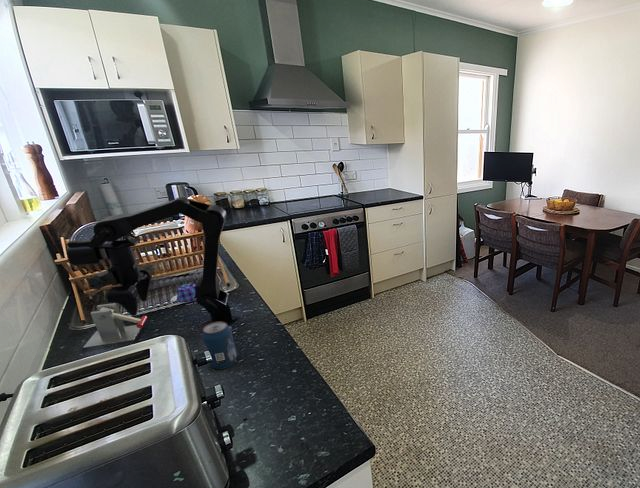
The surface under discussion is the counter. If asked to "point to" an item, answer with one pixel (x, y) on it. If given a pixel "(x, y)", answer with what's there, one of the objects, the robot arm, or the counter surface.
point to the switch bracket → (110, 328)
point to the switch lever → (127, 317)
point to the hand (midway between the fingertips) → (139, 307)
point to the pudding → (185, 293)
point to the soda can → (219, 344)
